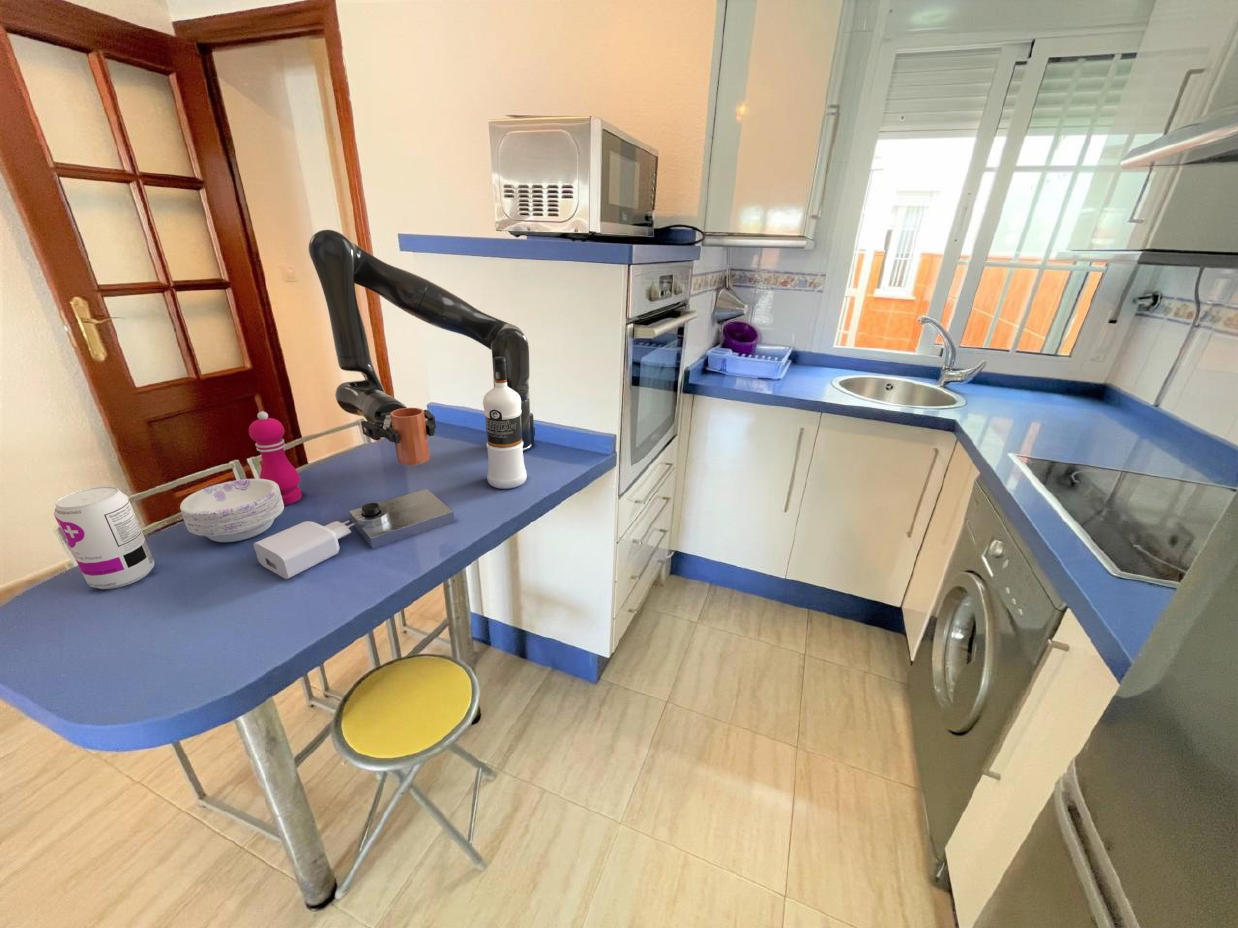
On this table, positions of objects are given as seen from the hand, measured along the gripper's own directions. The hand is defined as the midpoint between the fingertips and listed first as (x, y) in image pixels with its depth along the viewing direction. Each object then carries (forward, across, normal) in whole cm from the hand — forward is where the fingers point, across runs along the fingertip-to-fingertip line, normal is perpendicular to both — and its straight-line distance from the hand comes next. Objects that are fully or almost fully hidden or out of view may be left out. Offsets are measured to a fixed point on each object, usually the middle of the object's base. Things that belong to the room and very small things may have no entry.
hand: (414, 434), depth 98 cm
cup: (-2, 0, +6) cm, 6 cm away
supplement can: (-11, -47, +18) cm, 51 cm away
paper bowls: (-16, -30, +18) cm, 38 cm away
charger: (+1, -21, +18) cm, 28 cm away
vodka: (-3, +21, +18) cm, 28 cm away
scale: (0, -5, +18) cm, 18 cm away
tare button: (0, -10, +14) cm, 18 cm away
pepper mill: (-25, -21, +18) cm, 37 cm away
